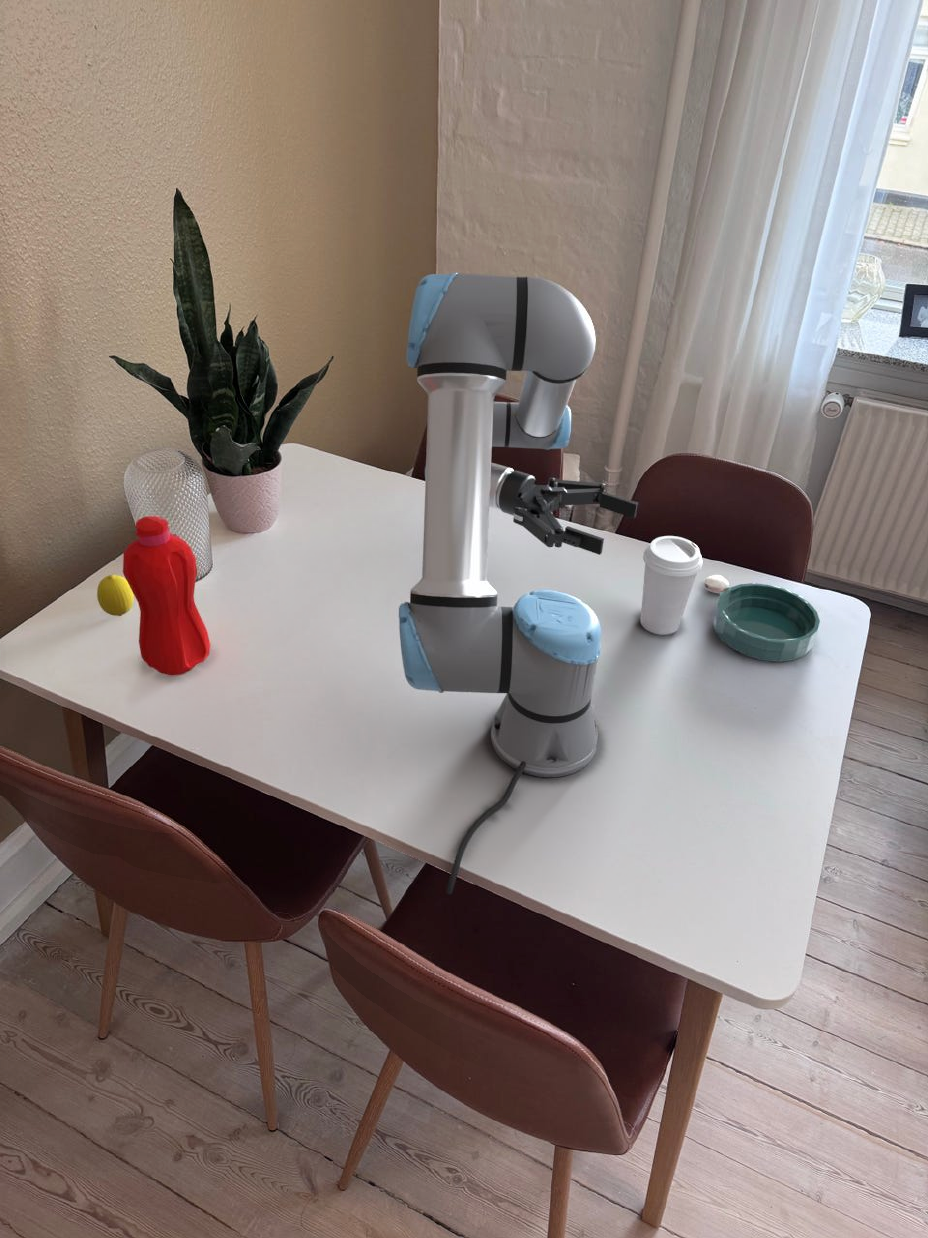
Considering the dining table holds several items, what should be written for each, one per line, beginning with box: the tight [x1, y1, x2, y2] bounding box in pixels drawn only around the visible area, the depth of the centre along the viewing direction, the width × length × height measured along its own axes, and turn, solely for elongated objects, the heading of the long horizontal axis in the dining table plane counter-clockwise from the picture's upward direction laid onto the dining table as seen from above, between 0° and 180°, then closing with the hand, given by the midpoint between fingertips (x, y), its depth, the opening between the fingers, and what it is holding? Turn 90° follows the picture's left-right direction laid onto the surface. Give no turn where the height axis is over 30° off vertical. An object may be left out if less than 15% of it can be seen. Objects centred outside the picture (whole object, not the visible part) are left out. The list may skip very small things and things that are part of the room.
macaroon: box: [703, 574, 730, 594], centre depth 166 cm, size 4×5×2 cm
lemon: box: [96, 574, 135, 617], centre depth 151 cm, size 6×6×8 cm
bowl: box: [712, 582, 821, 662], centre depth 155 cm, size 16×16×4 cm
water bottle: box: [122, 515, 211, 677], centre depth 139 cm, size 9×11×25 cm
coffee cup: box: [639, 535, 704, 636], centre depth 153 cm, size 10×10×15 cm
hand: (619, 528), depth 152 cm, fingers open, 13 cm apart
